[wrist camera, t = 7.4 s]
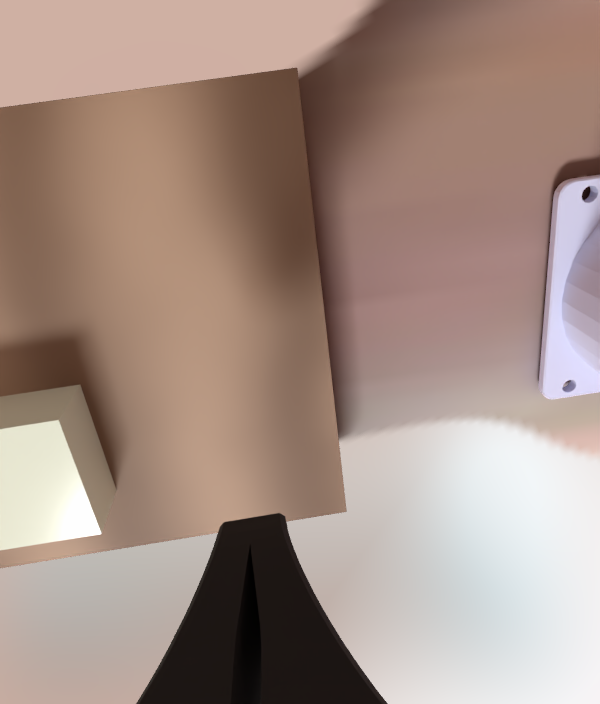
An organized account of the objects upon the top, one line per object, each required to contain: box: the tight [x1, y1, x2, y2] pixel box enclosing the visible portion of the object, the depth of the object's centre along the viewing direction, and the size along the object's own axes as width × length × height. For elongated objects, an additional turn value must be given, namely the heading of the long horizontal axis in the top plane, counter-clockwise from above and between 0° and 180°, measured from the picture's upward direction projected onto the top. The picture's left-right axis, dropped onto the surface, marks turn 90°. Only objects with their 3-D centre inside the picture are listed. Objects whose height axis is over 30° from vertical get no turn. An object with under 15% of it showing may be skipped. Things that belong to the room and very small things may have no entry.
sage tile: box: [0, 385, 116, 550], centre depth 16 cm, size 4×4×2 cm
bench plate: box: [0, 68, 346, 568], centre depth 17 cm, size 14×14×2 cm
